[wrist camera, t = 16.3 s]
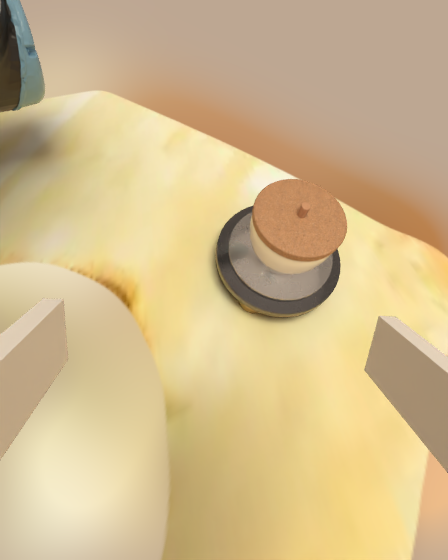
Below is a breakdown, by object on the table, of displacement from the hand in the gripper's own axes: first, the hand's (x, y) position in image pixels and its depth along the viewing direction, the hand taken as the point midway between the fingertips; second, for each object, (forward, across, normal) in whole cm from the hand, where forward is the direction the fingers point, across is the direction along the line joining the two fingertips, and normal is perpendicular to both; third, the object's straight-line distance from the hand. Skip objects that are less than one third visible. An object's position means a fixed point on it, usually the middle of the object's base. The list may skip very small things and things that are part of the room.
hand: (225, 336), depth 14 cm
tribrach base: (+33, +10, -6) cm, 35 cm away
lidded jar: (+29, +10, -3) cm, 31 cm away
